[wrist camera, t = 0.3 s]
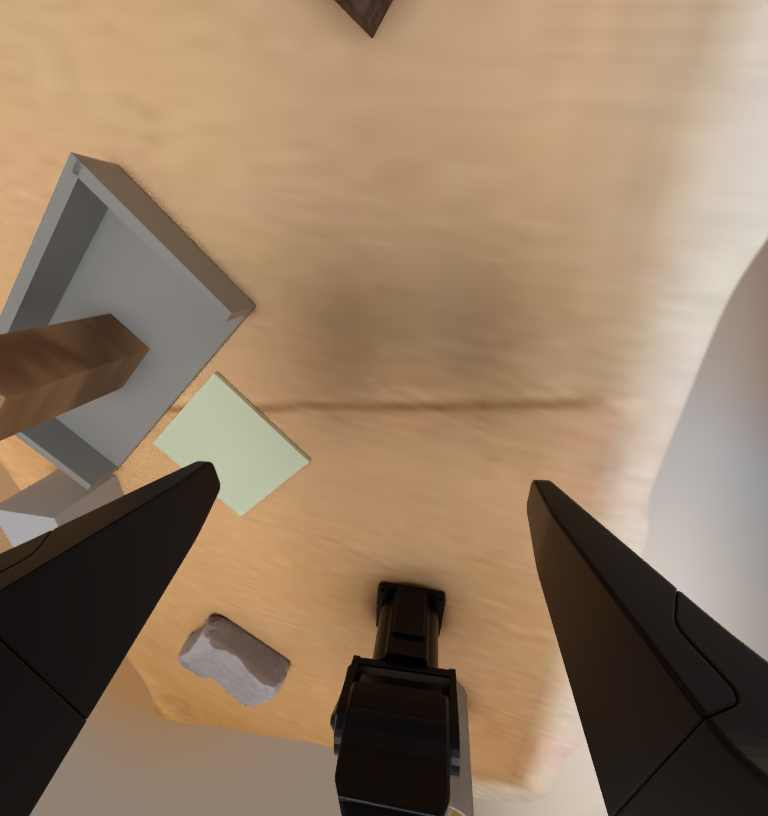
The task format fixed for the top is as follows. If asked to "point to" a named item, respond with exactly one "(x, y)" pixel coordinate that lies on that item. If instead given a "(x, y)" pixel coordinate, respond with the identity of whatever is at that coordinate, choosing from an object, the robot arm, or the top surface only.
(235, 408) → the pad
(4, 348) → the walnut box
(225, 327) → the parts tray
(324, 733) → the top surface
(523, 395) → the top surface
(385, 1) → the model house
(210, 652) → the stone block
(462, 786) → the coffee mug
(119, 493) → the greyblue box
